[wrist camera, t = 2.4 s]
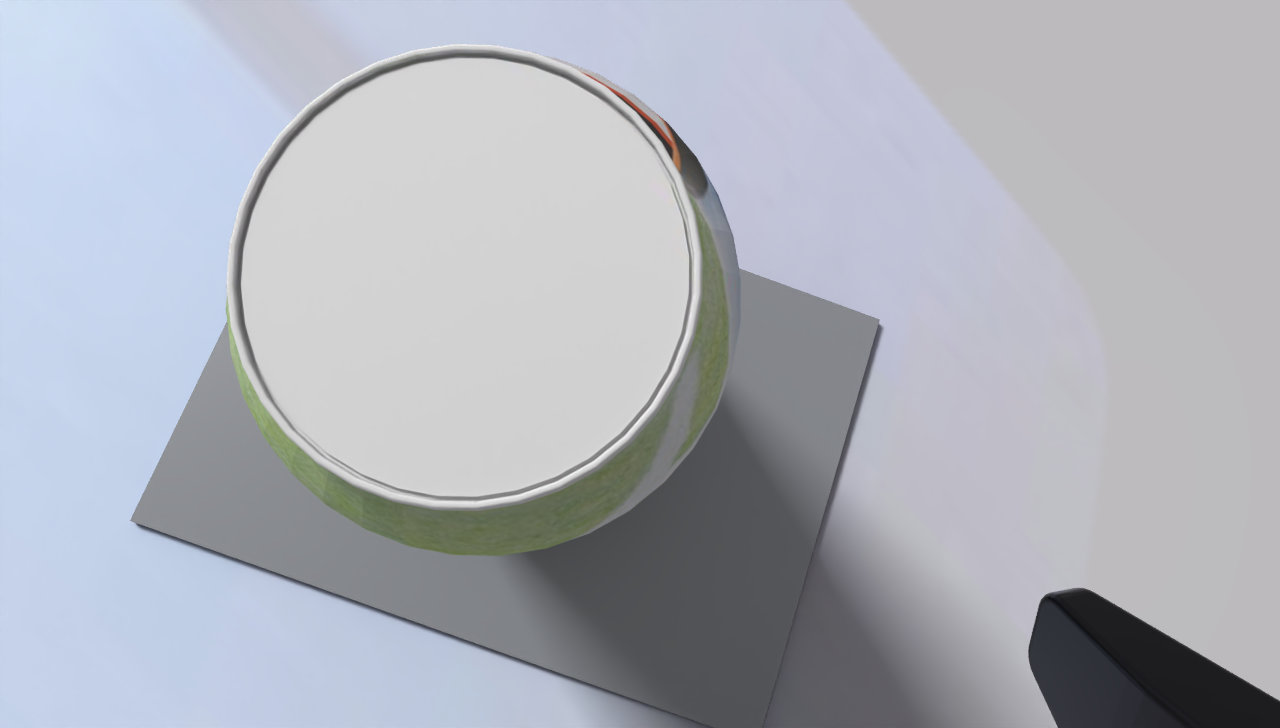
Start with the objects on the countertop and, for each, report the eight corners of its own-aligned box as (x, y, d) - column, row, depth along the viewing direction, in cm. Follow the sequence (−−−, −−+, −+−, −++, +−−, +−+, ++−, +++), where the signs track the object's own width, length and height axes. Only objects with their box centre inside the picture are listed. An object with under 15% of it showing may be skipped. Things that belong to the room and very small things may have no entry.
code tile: (877, 321, 23) (880, 318, 23) (756, 742, 20) (758, 743, 20) (327, 121, 23) (325, 116, 22) (133, 521, 20) (128, 520, 20)
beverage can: (724, 336, 22) (931, 46, 10) (579, 630, 20) (637, 674, 9) (484, 214, 22) (426, -205, 11) (318, 496, 20) (26, 360, 9)
